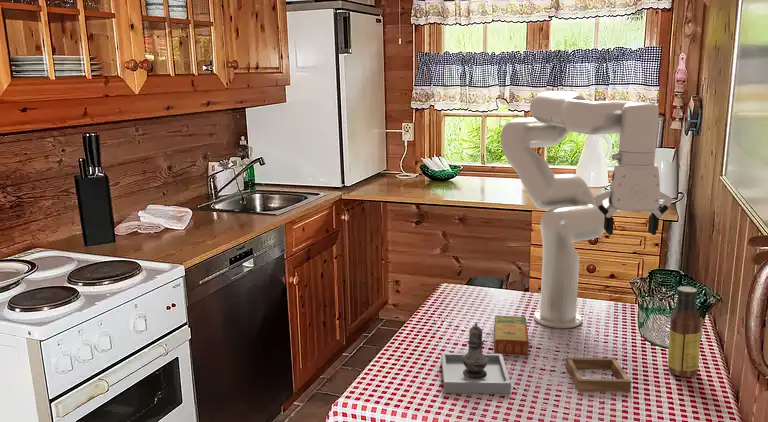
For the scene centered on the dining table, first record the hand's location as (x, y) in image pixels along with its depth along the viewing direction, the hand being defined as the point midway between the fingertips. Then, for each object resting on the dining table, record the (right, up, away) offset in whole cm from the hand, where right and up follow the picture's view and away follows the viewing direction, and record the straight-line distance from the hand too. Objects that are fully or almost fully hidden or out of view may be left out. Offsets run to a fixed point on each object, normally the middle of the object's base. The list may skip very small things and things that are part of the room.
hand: (630, 233), depth 143 cm
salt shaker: (-36, -31, -4) cm, 48 cm away
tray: (-36, -32, -3) cm, 49 cm away
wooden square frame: (-9, -32, -5) cm, 34 cm away
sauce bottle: (+11, -32, -2) cm, 33 cm away
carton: (-24, -28, +16) cm, 40 cm away
